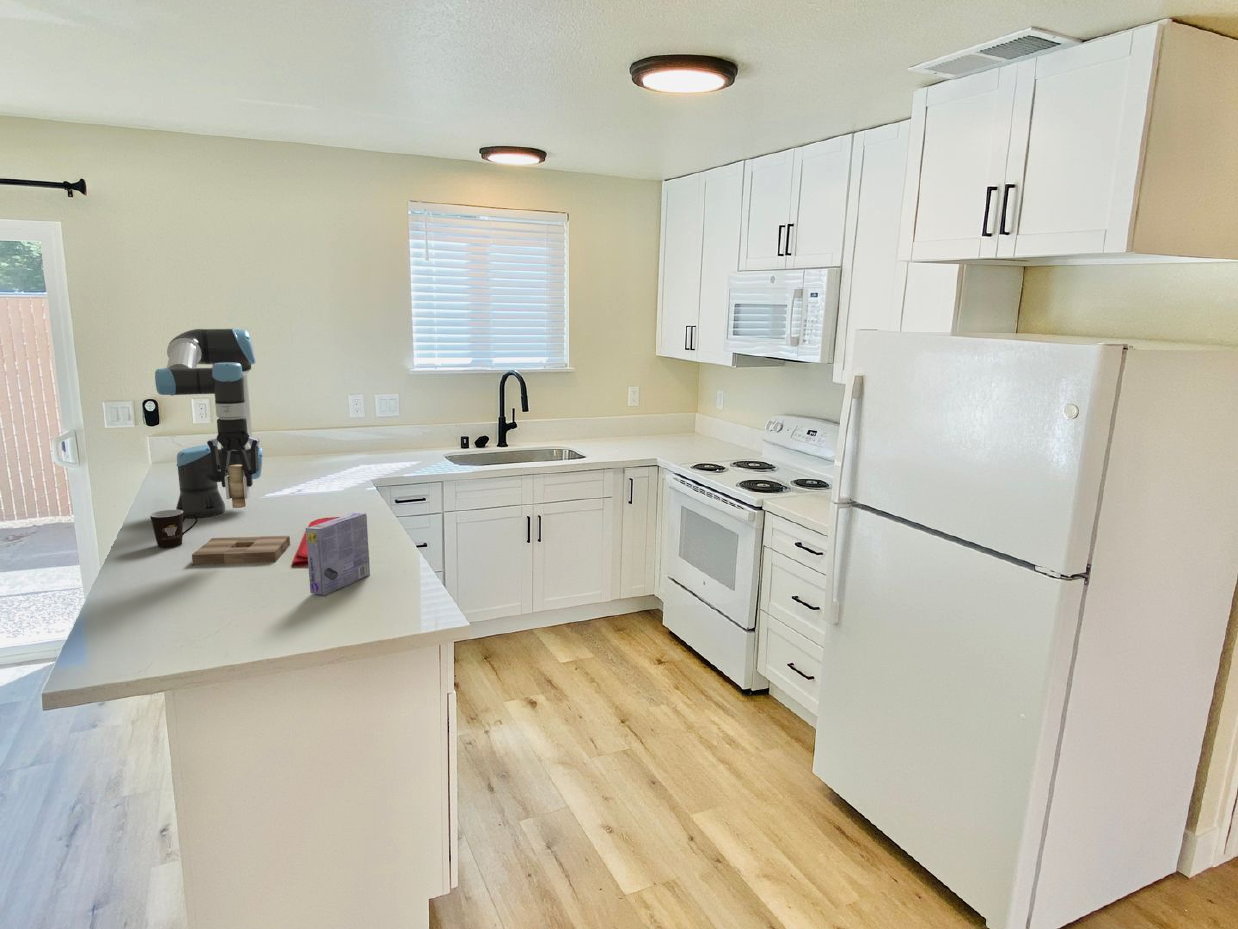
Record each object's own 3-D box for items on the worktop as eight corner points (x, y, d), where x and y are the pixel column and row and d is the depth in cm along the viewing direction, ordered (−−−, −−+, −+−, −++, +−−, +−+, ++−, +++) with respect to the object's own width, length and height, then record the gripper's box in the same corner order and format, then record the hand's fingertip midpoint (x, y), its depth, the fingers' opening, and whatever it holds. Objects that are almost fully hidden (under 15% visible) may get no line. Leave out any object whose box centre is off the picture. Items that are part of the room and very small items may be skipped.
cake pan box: (359, 571, 208) (356, 509, 205) (374, 573, 206) (371, 511, 203) (308, 594, 191) (303, 527, 187) (323, 597, 189) (319, 530, 185)
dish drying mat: (290, 569, 210) (289, 556, 210) (308, 528, 249) (308, 517, 248) (350, 565, 214) (349, 552, 214) (358, 525, 253) (358, 515, 252)
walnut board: (213, 547, 226) (212, 538, 225) (290, 545, 230) (289, 535, 229) (192, 565, 211) (191, 554, 210) (275, 562, 214) (274, 552, 214)
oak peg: (233, 505, 219) (230, 464, 216) (249, 504, 219) (245, 464, 217) (228, 508, 215) (225, 467, 212) (244, 508, 215) (241, 467, 213)
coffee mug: (149, 550, 222) (145, 518, 220) (158, 541, 230) (155, 510, 228) (193, 547, 225) (189, 515, 223) (200, 539, 234) (197, 508, 232)
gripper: (193, 419, 207) (201, 501, 211) (259, 419, 210) (266, 500, 214) (203, 416, 214) (211, 495, 219) (267, 415, 217) (273, 494, 221)
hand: (238, 497), depth 216 cm, fingers closed on oak peg, 4 cm apart
